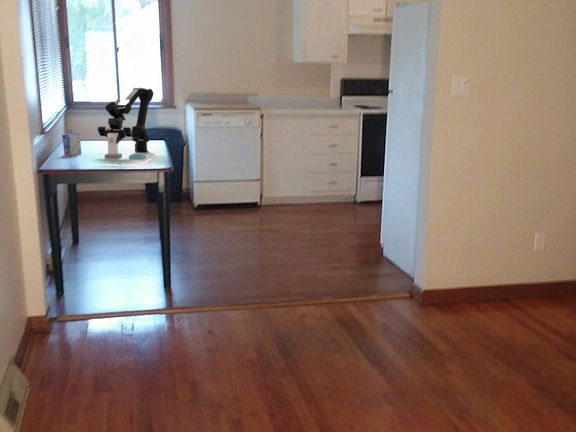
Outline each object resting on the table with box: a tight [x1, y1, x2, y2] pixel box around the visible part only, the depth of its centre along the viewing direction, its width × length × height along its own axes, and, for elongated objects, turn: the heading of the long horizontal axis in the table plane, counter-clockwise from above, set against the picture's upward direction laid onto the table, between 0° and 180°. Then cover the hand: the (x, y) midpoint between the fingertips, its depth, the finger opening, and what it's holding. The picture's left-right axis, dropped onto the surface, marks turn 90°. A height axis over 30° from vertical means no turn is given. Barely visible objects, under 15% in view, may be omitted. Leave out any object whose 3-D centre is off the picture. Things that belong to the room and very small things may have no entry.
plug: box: [106, 133, 119, 155], centre depth 348 cm, size 5×4×12 cm
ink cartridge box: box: [61, 129, 82, 157], centre depth 363 cm, size 10×6×14 cm, turn 161°
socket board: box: [101, 152, 150, 163], centre depth 350 cm, size 24×12×3 cm, turn 87°
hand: (112, 143), depth 348 cm, fingers closed on plug, 4 cm apart
